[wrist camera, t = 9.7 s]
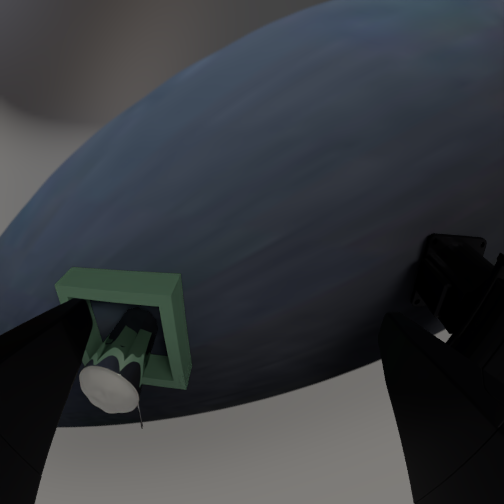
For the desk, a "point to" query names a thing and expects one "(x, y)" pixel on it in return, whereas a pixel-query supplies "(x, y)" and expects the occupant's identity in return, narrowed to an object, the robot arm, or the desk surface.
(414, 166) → the desk surface
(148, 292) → the green square frame
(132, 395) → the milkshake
